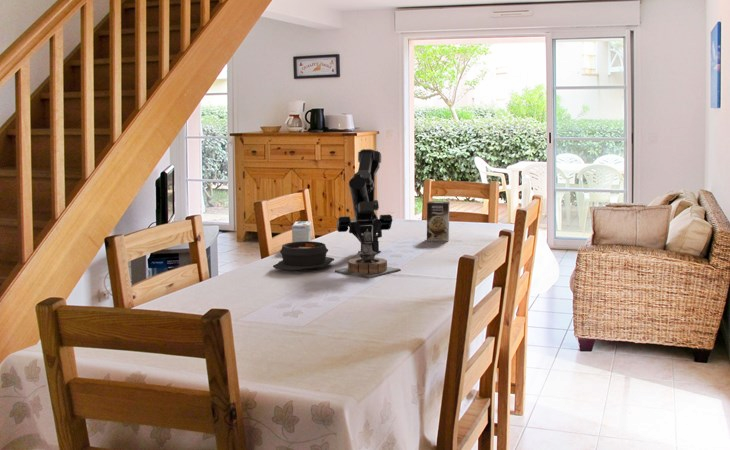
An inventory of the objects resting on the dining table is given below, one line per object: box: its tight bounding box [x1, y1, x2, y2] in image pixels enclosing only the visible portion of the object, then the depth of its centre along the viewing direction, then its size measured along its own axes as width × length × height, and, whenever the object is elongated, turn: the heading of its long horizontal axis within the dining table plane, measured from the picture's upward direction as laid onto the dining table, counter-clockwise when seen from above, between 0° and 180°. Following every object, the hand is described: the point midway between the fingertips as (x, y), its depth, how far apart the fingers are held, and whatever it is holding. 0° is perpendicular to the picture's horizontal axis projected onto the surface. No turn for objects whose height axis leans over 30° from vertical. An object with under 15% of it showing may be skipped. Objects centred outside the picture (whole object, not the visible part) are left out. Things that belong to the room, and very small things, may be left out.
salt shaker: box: [358, 229, 377, 263], centre depth 278 cm, size 6×6×12 cm
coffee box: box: [426, 201, 451, 243], centre depth 339 cm, size 9×6×16 cm
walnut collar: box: [334, 257, 402, 279], centre depth 279 cm, size 16×16×4 cm
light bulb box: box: [291, 220, 312, 243], centre depth 321 cm, size 11×7×11 cm, turn 178°
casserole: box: [272, 241, 335, 272], centre depth 286 cm, size 25×19×8 cm
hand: (368, 243), depth 277 cm, fingers closed on salt shaker, 4 cm apart
